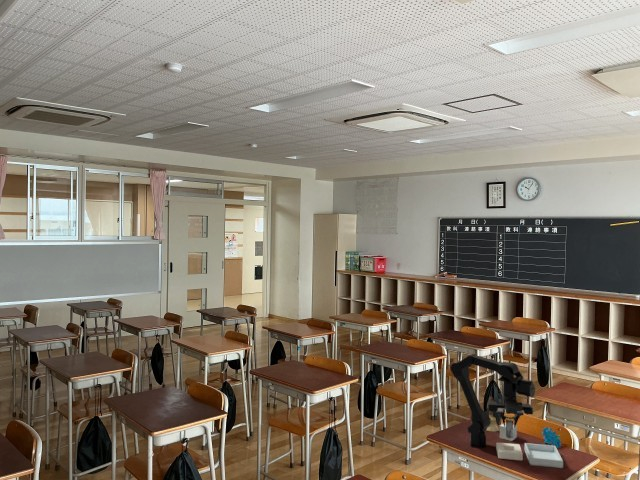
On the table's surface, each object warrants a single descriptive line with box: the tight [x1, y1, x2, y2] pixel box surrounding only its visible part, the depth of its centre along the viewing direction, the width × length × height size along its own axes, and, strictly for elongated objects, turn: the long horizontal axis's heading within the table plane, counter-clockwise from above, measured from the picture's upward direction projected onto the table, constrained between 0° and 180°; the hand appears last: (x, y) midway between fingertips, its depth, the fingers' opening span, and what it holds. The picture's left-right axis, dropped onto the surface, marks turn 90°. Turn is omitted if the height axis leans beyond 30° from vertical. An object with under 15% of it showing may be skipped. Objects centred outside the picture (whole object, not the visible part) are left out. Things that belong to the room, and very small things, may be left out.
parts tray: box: [523, 442, 564, 469], centre depth 229 cm, size 13×16×3 cm
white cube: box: [499, 421, 518, 442], centre depth 252 cm, size 6×6×6 cm
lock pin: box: [504, 414, 515, 438], centre depth 233 cm, size 4×4×9 cm
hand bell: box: [485, 396, 500, 433], centre depth 264 cm, size 8×8×16 cm
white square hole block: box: [495, 441, 524, 461], centre depth 233 cm, size 10×10×3 cm
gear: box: [541, 426, 562, 449], centre depth 244 cm, size 11×6×10 cm
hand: (509, 426), depth 233 cm, fingers closed on lock pin, 4 cm apart
